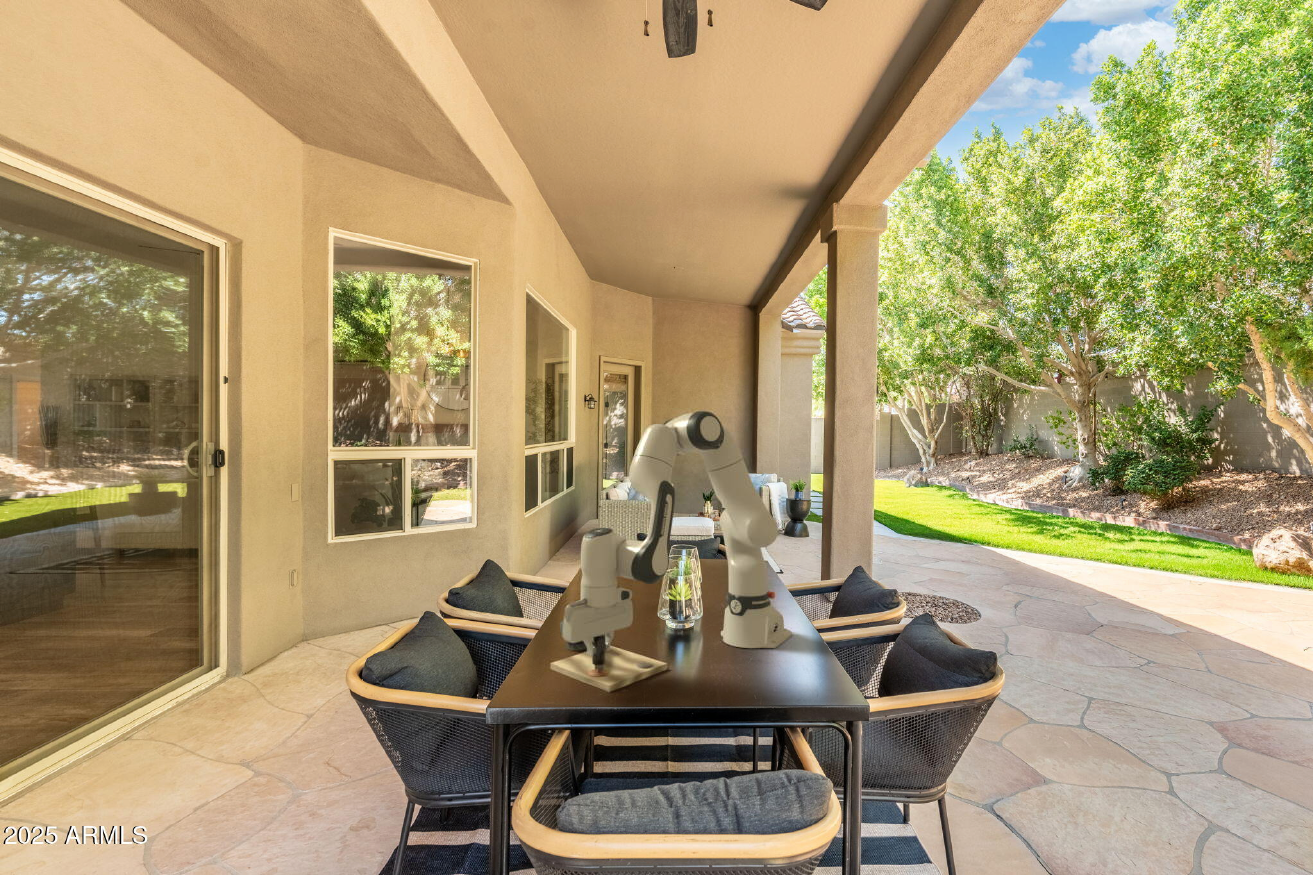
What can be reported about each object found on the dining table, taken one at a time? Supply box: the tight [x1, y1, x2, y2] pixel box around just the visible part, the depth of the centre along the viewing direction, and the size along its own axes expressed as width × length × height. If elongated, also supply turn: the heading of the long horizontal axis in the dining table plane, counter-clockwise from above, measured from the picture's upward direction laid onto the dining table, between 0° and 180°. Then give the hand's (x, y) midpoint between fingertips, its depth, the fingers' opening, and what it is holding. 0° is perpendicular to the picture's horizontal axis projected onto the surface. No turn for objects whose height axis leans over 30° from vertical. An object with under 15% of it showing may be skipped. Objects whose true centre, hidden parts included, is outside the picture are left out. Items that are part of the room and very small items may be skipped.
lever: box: [592, 634, 605, 669], centre depth 163 cm, size 4×20×8 cm, turn 2°
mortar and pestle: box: [559, 619, 587, 651], centre depth 179 cm, size 11×9×12 cm
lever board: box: [549, 645, 668, 693], centre depth 162 cm, size 20×22×2 cm
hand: (598, 652), depth 155 cm, fingers closed on lever, 3 cm apart
